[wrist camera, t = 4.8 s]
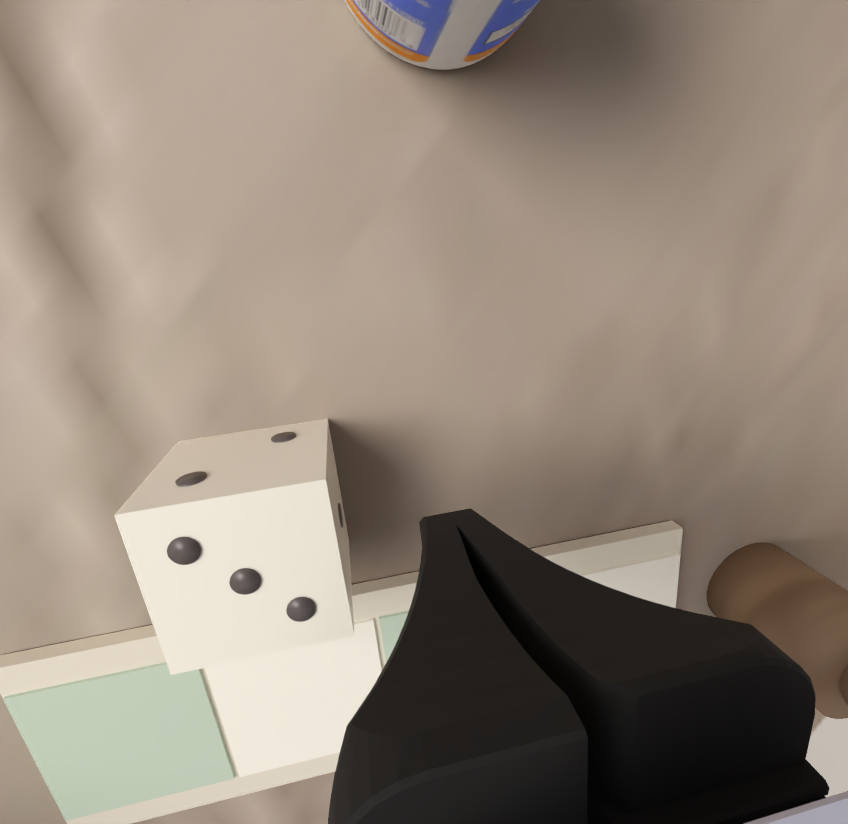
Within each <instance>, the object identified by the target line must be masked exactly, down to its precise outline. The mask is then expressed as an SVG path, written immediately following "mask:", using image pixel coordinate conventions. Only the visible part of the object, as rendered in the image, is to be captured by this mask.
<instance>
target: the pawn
mask: <svg viewBox="0 0 848 824" xmlns="http://www.w3.org/2000/svg"><path fill="white" fill-rule="evenodd" d="M707 602H708V606H709V608H710V610H711V611H712V613H713V614H714V615H716V616H717V617H718V618H722V619H727V620H732V621H737V622H742V623H747V624H751V625H752V626H753V627H755V628H756V629H757V630H759V631H760V632H761V633H762V634H763V635H764V636H766V637H767V638H768V639H769V640H770V641H771V642H773V643H774V644H775V645H776V646H777V647H779V648H780V649H781V650H782V651H783V652H784V653H786V654H787V655H788V656H789V657H790V658H791V659H793V660H794V661H795V662H796V663H797V664H798V665H800V666H801V667H802V669H803V670H804V671H805V672H806V673H807V674H808V676H809V677H810V678H811V681H812V684H813V687H814V691H815V697H816V701H815V708H816V709H817V710H818V711H820V712H821V713H822V714H823V715H825V716H827V717H830V718H836V719H843V718H848V591H846V590H845V589H843V588H842V587H840V586H839V585H837V584H836V583H834V582H832V581H831V580H829V579H828V578H826V577H825V576H823V575H821V574H820V573H818V572H817V571H815V570H814V569H812V568H810V567H809V566H807V565H806V564H804V563H803V562H801V561H800V560H798V559H796V558H795V557H793V556H792V555H790V554H789V553H787V552H785V551H784V550H782V549H781V548H779V547H778V546H776V545H773V544H770V543H755V544H751V545H748V546H745V547H743V548H741V549H739V550H737V551H735V552H734V553H732V554H731V555H730V556H728V557H727V558H726V559H725V560H724V561H723V562H722V563H721V564H720V565H719V567H718V568H717V569H716V571H715V572H714V574H713V576H712V578H711V580H710V582H709V586H708V590H707Z"/></svg>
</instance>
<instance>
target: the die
mask: <svg viewBox="0 0 848 824" xmlns="http://www.w3.org/2000/svg"><path fill="white" fill-rule="evenodd" d="M114 516H115V519H116V522H117V525H118V527H119V530H120V533H121V536H122V539H123V542H124V544H125V547H126V550H127V553H128V556H129V558H130V561H131V564H132V567H133V570H134V573H135V575H136V578H137V581H138V584H139V587H140V589H141V592H142V595H143V598H144V601H145V604H146V606H147V609H148V612H149V615H150V618H151V621H152V623H153V626H154V629H155V632H156V635H157V637H158V640H159V643H160V646H161V649H162V652H163V654H164V657H165V660H166V663H167V666H168V668H169V671H170V674H171V675H174V674H179V673H183V672H188V671H193V670H197V669H202V668H206V667H211V666H215V665H220V664H225V663H229V662H234V661H238V660H243V659H248V658H252V657H257V656H261V655H266V654H271V653H275V652H280V651H284V650H289V649H294V648H298V647H303V646H307V645H312V644H316V643H321V642H326V641H330V640H335V639H339V638H344V637H349V636H353V635H354V618H353V601H352V584H351V566H350V549H349V538H348V532H347V526H346V520H345V515H344V509H343V503H342V497H341V492H340V486H339V480H338V475H337V469H336V463H335V457H334V452H333V446H332V440H331V434H330V429H329V423H328V419H323V420H316V421H309V422H303V423H296V424H289V425H283V426H276V427H269V428H263V429H256V430H250V431H243V432H236V433H230V434H223V435H216V436H210V437H203V438H196V439H190V440H183V441H178V442H177V443H176V444H175V445H174V446H173V448H172V449H171V450H170V451H169V452H168V453H167V454H166V456H165V457H164V458H163V459H162V460H161V461H160V463H159V464H158V465H157V466H156V467H155V468H154V469H153V471H152V472H151V473H150V474H149V475H148V476H147V478H146V479H145V480H144V481H143V482H142V483H141V484H140V486H139V487H138V488H137V489H136V490H135V491H134V493H133V494H132V495H131V496H130V497H129V498H128V500H127V501H126V502H125V503H124V504H123V505H122V506H121V508H120V509H119V510H118V511H117V512H116V513H115V515H114Z"/></svg>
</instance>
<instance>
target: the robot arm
mask: <svg viewBox="0 0 848 824" xmlns="http://www.w3.org/2000/svg"><path fill="white" fill-rule="evenodd" d="M419 523H420V532H421V540H422V555H421V564H420V570H419V575H418V579H417V584H416V588H415V592H414V596H413V599H412V603H411V606H410V609H409V612H408V615H407V618H406V620H405V623H404V625H403V628H402V630H401V633H400V635H399V638H398V640H397V642H396V645H395V647H394V649H393V651H392V653H391V655H390V657H389V659H388V661H387V662H386V664H385V666H384V668H383V670H382V672H381V673H380V675H379V677H378V679H377V681H376V683H375V684H374V686H373V688H372V689H371V691H370V692H369V694H368V695H367V697H366V698H365V700H364V701H363V703H362V704H361V706H360V707H359V709H358V710H357V712H356V713H355V715H354V716H353V718H352V719H351V721H350V722H349V723H348V725H347V727H346V731H345V735H344V738H343V742H342V746H341V750H340V754H339V758H338V762H337V767H336V771H335V776H334V781H333V787H332V793H331V800H330V808H329V818H328V824H848V791H847V792H844V793H840V794H838V795H834V796H831V797H827V798H826V797H825V796H824V795H828V791H829V786H828V784H827V783H826V780H825V779H824V778H823V777H822V776H821V775H820V774H819V773H818V772H817V771H816V770H815V769H814V768H813V767H812V766H811V765H810V763H809V762H808V761H807V760H806V759H805V758H806V754H807V749H808V744H809V739H810V735H811V730H812V725H813V721H814V716H815V701H816V697H815V691H814V687H813V684H812V681H811V678H810V677H809V676H808V674H807V673H806V672H805V671H804V670H803V669H802V667H801V666H800V665H798V664H797V663H796V662H795V661H794V660H793V659H791V658H790V657H789V656H788V655H787V654H786V653H784V652H783V651H782V650H781V649H780V648H779V647H777V646H776V645H775V644H774V643H773V642H771V641H770V640H769V639H768V638H767V637H766V636H764V635H763V634H762V633H761V632H760V631H759V630H757V629H756V628H755V627H753V626H752V625H751V624H747V623H742V622H737V621H732V620H727V619H722V618H717V617H712V616H707V615H702V614H697V613H692V612H688V611H684V610H680V609H677V608H673V607H669V606H666V605H662V604H658V603H655V602H651V601H648V600H645V599H642V598H638V597H635V596H632V595H629V594H627V593H624V592H621V591H618V590H615V589H613V588H610V587H607V586H604V585H602V584H599V583H597V582H594V581H592V580H590V579H587V578H585V577H583V576H581V575H579V574H576V573H574V572H572V571H570V570H568V569H565V568H564V567H562V566H560V565H558V564H556V563H554V562H552V561H550V560H548V559H547V558H545V557H543V556H541V555H539V554H538V553H536V552H534V551H532V550H531V549H529V548H528V547H526V546H524V545H523V544H521V543H519V542H518V541H516V540H515V539H513V538H512V537H510V536H509V535H507V534H506V533H504V532H503V531H501V530H500V529H499V528H497V527H496V526H494V525H493V524H491V523H490V522H489V521H487V520H486V519H485V518H483V517H482V516H480V515H479V514H478V513H476V512H475V511H473V510H472V509H465V510H460V511H455V512H449V513H444V514H439V515H433V516H428V517H423V518H422V520H421V521H420V522H419Z"/></svg>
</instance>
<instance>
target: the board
mask: <svg viewBox="0 0 848 824" xmlns="http://www.w3.org/2000/svg"><path fill="white" fill-rule="evenodd" d="M682 533H683V528H682V527H681V526H679V525H678V524H677V523H675V522H674V521H673V520H671V521H666V522H661V523H656V524H651V525H646V526H641V527H636V528H631V529H626V530H621V531H616V532H611V533H606V534H601V535H596V536H592V537H587V538H582V539H577V540H572V541H567V542H562V543H557V544H552V545H547V546H542V547H537V548H532V549H531V550H532V551H534V552H536V553H538V554H539V555H541V556H543V557H545V558H547V559H548V560H550V561H552V562H554V563H556V564H558V565H560V566H562V567H564V568H565V569H568V570H570V571H572V572H574V573H576V574H579V575H581V576H583V577H585V578H587V579H590V580H592V581H594V582H597V583H599V584H602V585H604V586H607V587H610V588H613V589H615V590H618V591H621V592H624V593H627V594H629V595H632V596H635V597H638V598H642V599H645V600H648V601H651V602H655V603H658V604H662V605H666V606H669V607H673V608H676V599H677V588H678V577H679V566H680V555H681V544H682ZM418 575H419V571H417V572H412V573H407V574H403V575H398V576H393V577H388V578H383V579H378V580H373V581H368V582H363V583H358V584H353V585H352V601H353V618H354V635H353V636H349V637H344V638H339V639H335V640H330V641H326V642H321V643H316V644H312V645H307V646H303V647H298V648H294V649H289V650H284V651H280V652H275V653H271V654H266V655H261V656H257V657H252V658H248V659H243V660H238V661H234V662H229V663H225V664H220V665H215V666H211V667H206V668H202V669H197V670H193V671H188V672H183V673H179V674H174V675H171V674H170V671H169V668H168V666H167V663H166V660H165V657H164V654H163V652H162V649H161V646H160V643H159V640H158V637H157V635H156V632H155V629H154V626H153V625H149V626H144V627H139V628H134V629H129V630H124V631H119V632H114V633H109V634H104V635H99V636H94V637H89V638H84V639H79V640H74V641H69V642H64V643H59V644H54V645H49V646H44V647H39V648H34V649H30V650H25V651H20V652H15V653H10V654H5V655H1V656H0V694H1V696H2V698H3V700H4V702H5V704H6V706H7V708H8V710H9V712H10V714H11V716H12V718H13V720H14V722H15V724H16V726H17V728H18V729H19V731H20V733H21V735H22V737H23V739H24V741H25V743H26V745H27V747H28V749H29V751H30V753H31V755H32V757H33V759H34V761H35V763H36V764H37V766H38V768H39V770H40V772H41V774H42V776H43V778H44V780H45V782H46V784H47V786H48V788H49V790H50V792H51V794H52V796H53V798H54V799H55V801H56V803H57V805H58V807H59V809H60V811H61V813H62V815H63V817H64V819H65V821H66V822H67V824H132V823H136V822H139V821H143V820H147V819H151V818H155V817H159V816H163V815H167V814H171V813H175V812H178V811H182V810H186V809H190V808H194V807H198V806H202V805H206V804H210V803H214V802H218V801H221V800H225V799H229V798H233V797H237V796H241V795H245V794H249V793H253V792H257V791H261V790H264V789H268V788H272V787H276V786H280V785H284V784H288V783H292V782H296V781H300V780H303V779H307V778H311V777H315V776H319V775H323V774H327V773H331V772H335V771H336V767H337V762H338V758H339V754H340V750H341V746H342V742H343V738H344V735H345V731H346V727H347V725H348V723H349V722H350V721H351V719H352V718H353V716H354V715H355V713H356V712H357V710H358V709H359V707H360V706H361V704H362V703H363V701H364V700H365V698H366V697H367V695H368V694H369V692H370V691H371V689H372V688H373V686H374V684H375V683H376V681H377V679H378V677H379V675H380V673H381V672H382V670H383V668H384V666H385V664H386V662H387V661H388V659H389V657H390V655H391V653H392V651H393V649H394V647H395V645H396V642H397V640H398V638H399V635H400V633H401V630H402V628H403V625H404V623H405V620H406V618H407V615H408V612H409V609H410V606H411V603H412V599H413V596H414V592H415V588H416V584H417V579H418Z"/></svg>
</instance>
